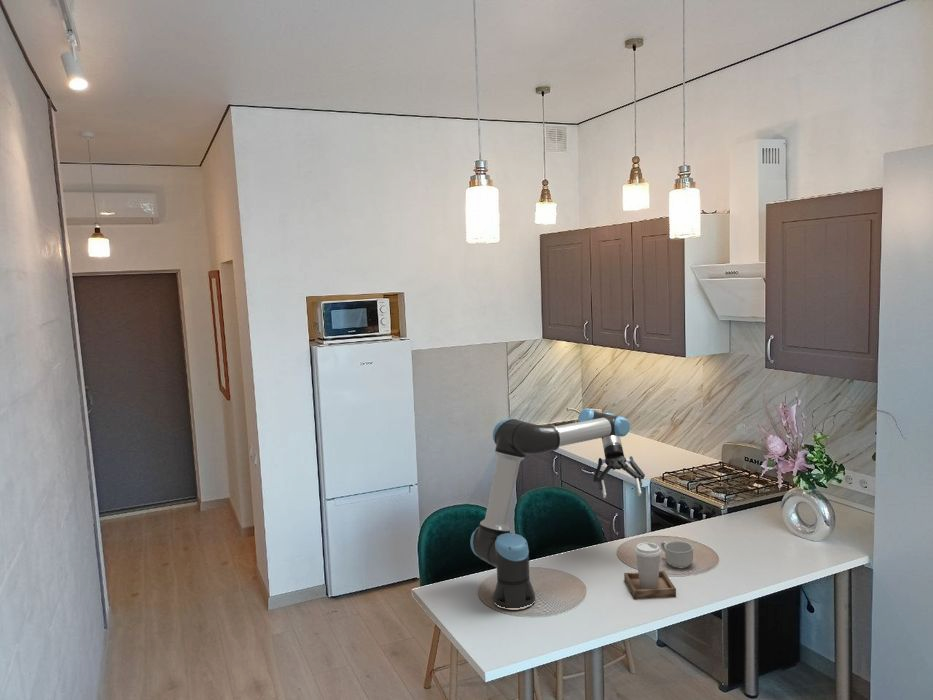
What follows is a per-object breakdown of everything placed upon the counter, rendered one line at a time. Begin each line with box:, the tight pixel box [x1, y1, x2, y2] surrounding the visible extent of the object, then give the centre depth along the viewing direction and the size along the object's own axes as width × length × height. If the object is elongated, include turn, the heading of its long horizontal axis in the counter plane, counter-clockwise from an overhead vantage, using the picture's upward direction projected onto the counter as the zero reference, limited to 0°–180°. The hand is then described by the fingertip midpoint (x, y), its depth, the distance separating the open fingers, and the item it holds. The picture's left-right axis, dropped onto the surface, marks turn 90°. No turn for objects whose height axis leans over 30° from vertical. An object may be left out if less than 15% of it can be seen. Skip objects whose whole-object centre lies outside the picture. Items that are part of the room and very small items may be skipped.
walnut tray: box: [623, 570, 677, 600], centre depth 254 cm, size 15×15×3 cm
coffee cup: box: [634, 541, 662, 589], centre depth 254 cm, size 10×10×15 cm
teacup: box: [660, 540, 694, 568], centre depth 274 cm, size 14×11×8 cm
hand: (622, 495), depth 269 cm, fingers open, 13 cm apart
